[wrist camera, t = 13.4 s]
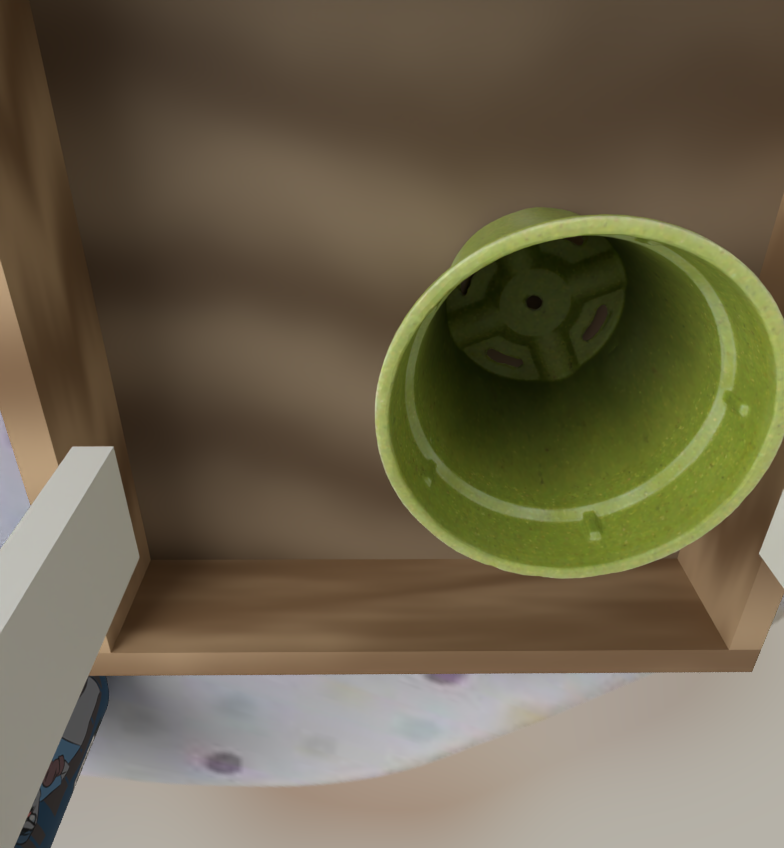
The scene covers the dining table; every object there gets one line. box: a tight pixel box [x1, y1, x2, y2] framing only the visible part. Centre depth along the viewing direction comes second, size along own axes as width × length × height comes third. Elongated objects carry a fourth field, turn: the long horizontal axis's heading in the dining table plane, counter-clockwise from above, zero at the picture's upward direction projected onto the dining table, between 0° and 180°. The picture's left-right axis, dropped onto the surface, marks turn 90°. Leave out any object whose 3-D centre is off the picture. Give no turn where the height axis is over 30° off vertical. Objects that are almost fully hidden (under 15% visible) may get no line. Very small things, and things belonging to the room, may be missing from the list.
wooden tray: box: [0, 0, 784, 676], centre depth 22 cm, size 25×25×6 cm
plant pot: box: [375, 207, 784, 579], centre depth 19 cm, size 9×9×9 cm
